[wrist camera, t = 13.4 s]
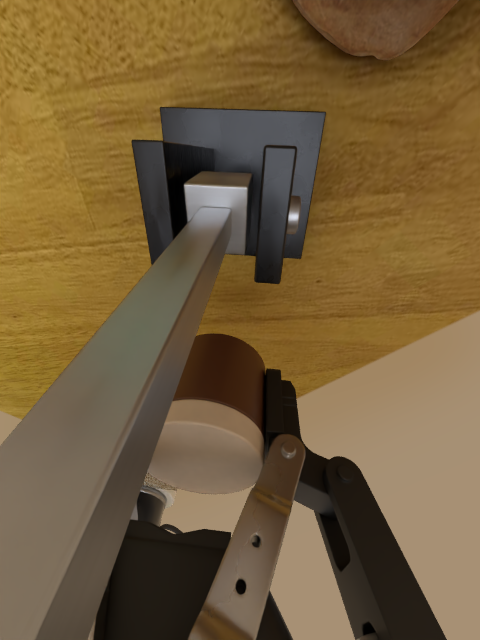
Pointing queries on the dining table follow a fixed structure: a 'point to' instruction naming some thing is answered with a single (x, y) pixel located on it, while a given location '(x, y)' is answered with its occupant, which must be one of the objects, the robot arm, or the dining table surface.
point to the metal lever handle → (106, 426)
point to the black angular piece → (237, 157)
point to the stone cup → (374, 23)
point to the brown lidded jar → (215, 420)
